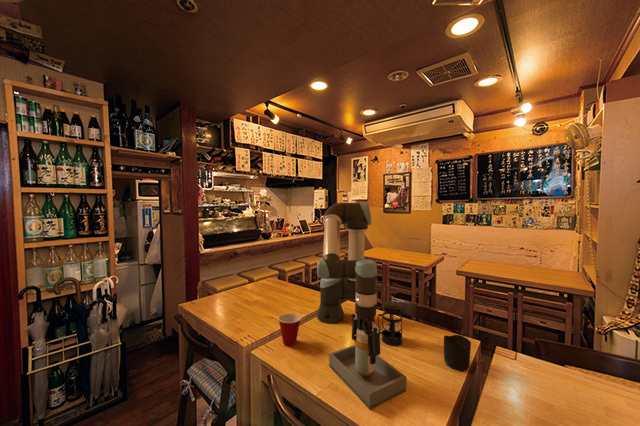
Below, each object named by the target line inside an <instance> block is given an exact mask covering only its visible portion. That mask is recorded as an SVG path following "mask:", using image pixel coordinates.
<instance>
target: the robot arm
mask: <svg viewBox="0 0 640 426" xmlns="http://www.w3.org/2000/svg"><path fill="white" fill-rule="evenodd" d="M371 213H372V212H371V209H370V206H369V204H368V203H367V202H336V203H334V204H333V205H331V206H329V208H327V209H326V211H325V212H324V215H323V217H322V225H323V227H324V231H323V248H322V258H320V259H318V260H317V262H316V263H317V265H316V274H317V275H316V276H317V278H319V279H320V285H319V289H320V290H319V291H320V293H319V295H320V298H319V299H320V300H319V301H320V303H319V306H318V310H317V312H316V319H317V320H318V321H319V322H321V323H324V324H338V323H341V322H343V321H344V319H345V313H344V310H343V307H342V301H354V302H355V304H354V305H355V306H354V311H355V312H354V313H352V314H351V319H352V321H351V322H352V323H351V324H352V325H351V339H352V341H354V343H356V339H357V329H359V330H360V329H364V332H365V334H366V335H368V348H369V354H368V373H370V372H373V371H375V362H376V356H377V355H378V356H380V355H381V334H380V332H382V326H380V325H379V326H378V325H377V324H376V321H375V318H376V316H377V283H378V282H377V281H378V280H377V278H378V277H377V276H378V267H377V262H376V261H374V260H371V259H365V245H366V244H365V243H366V242H365V241H366V240H365V239H366V237H365V236H366V231H367V230H368V229H369V226H371V225H372V214H371ZM342 225H344V226H345V228H346V230H347V231H348V255H347V258H348V259H341V226H342ZM369 330H370V331H369ZM370 334H371V336H370Z"/></svg>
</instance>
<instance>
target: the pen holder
mask: <svg viewBox="0 0 640 426" xmlns="http://www.w3.org/2000/svg"><path fill="white" fill-rule="evenodd" d="M471 345H472V342H471V341H470V340H469V339H468V338H467V337H465V336H462V335H460V334H454V335H447V334H446V335H444V336H443V359H444V360H443V361H444V363H445V365H446V366H447V367H448V366H449V367H448V368H450V369H452V370H454V369H455V371H457V370H459V371H458V372H465V371H464V370H466V371H468V370H469V369H470V365H471V364H470V361H471V348H472V347H471ZM468 368H469V369H468ZM467 369H468V370H467Z"/></svg>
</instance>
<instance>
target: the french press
mask: <svg viewBox="0 0 640 426" xmlns="http://www.w3.org/2000/svg"><path fill="white" fill-rule="evenodd" d="M387 293H388V294H389V295H391V301H390V300H388V301H387V300H386V301H384V302H383V303H382V306H383V309H382V310H384V312H382V313H378V314H377V327H378V326H380V317H382V318H381V319H382V321H381V323H382V325H381V331H380V335H381V342H382V343H383V344H385V345H387V346H391V347H399V346H402V344H403V315H402V314H401V313H400V312H401V310H402V309H403V308H404V306H403V304H402V303H400V302H398V301H394V296H395V295H398V292H397V291H394V290H389V291H387ZM386 315H389V318H388V317H386ZM394 315H395V316H398V317H400V318H398V319H397V318H395V319H394ZM384 321H386V322H385V323H384ZM398 323H401V325H399V324H398Z"/></svg>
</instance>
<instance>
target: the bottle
mask: <svg viewBox="0 0 640 426" xmlns="http://www.w3.org/2000/svg"><path fill="white" fill-rule="evenodd" d="M369 331H370V330H369ZM370 336H371V334H370ZM354 343H355V342H354ZM354 345H355V370H356V372H357V373H358V374H359V375H361V376H365V377H368V376H371V375H372V374H373V373H374V372H375V371H373V372H370V373H368V354H369V348H368V335H366V334H365V332H364V329H360V330H359V329H357V339H356V343H355V344H354Z"/></svg>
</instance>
